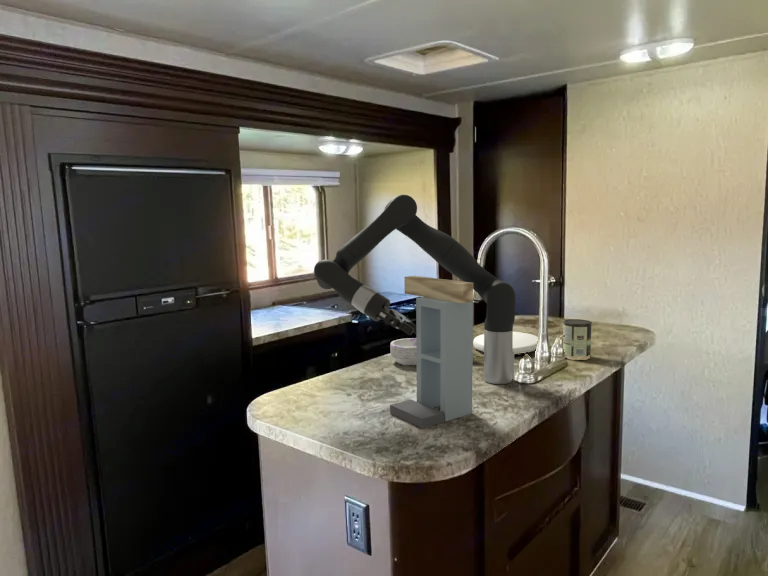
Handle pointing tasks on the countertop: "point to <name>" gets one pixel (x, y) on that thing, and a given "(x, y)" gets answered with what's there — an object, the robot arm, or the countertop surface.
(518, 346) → the plate
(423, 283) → the maple bar
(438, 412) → the charcoal block
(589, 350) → the coffee can
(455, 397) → the slate stand
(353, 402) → the countertop surface
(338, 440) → the countertop surface
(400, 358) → the white bowl
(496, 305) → the robot arm
